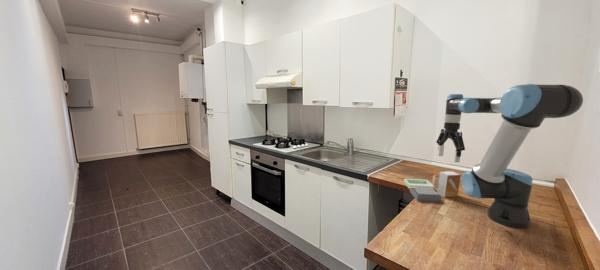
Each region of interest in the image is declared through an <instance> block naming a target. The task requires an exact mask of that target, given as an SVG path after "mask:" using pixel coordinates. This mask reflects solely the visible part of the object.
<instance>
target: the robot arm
mask: <svg viewBox="0 0 600 270" xmlns="http://www.w3.org/2000/svg"><path fill="white" fill-rule="evenodd" d="M445 103H446V104H445V114H444V123H443V128H441V129H440V133H439V136H438V138H437V139H436V141H435V142H436V144H437V145H438V149H437V150H438V151H437V156H438V157H444V151H445V150H444V149H445V143H446V142H447V141H448V140H451V141H452V143H453V145H454V148H455V150H454V158H453V162H454V163H460V161H461V156H462V151H466V147H465V143H464V139H463V132H462V131H458V130H460V128H461V126H460V125H461V117H462V113H464V114H501V116H500V117H501V118H502V120H503V121H502V123H501V125H500V126H499V128H498V130H497V132H496V133H495V135H494V137H493V139H492V141H491V143H490V145H489V147H488V148H487V149H486V152H485V154H484V156H483V158H482V159H481V162H480V163H477V164H475V165H474V166H473V167H472V170H470V171H469V170H468V171H465V172H463V173H462V174H461V178H460V182H461V187H462V189H463V191H464V193H465V195H467V196H468V197H470V198H473V199H474V198H475V199H493V202H492V203H491V204H490V205H489V207H488V209H487V213H486V214H487V215H486V216H488V217H489V218H490V219H491V220H493V222H496V223H498V224H502V225H504V226H508V227H512V228H518V229H525V228H526V229H527V228H528V227H530V226H531V218H530V214H529V210H528V208H529V202H530V196H531V192H532V188H533V177H532V176H531V175H530V174H527V173H525V172H522V171H519V170H514V169H510V168H508V166H509V165H510V163H511V162H512V161H513V159H514V157H515V155H516V154H517V152H518V151H519V149H520V147H521V146H522V145H523V143H524V141H525V140H526V139H527V136H528V135H529V133H530V132H531V130H532V129H537V128H539V127H541V124H542V123H543V122H544V120H545V119H559V118H560V119H561V118H565V117H566V118H567V117H569V116H572V115H573V114H575V113H577V112H578V111H579V110H580V109H581V108H582V105H583V103H584V97H583V94H582V93H581V92H580V91H579V89H577V88H576V87H573V86H571V85H566V84H534V83H527V84H518V85H514V86H512V87H510V88H508V89H507V90H506V91H505V92H504V93H503V94H502V96H501V97H500V96H499V97H483V98H482V97H464V94H461V93H459V94H458V93H455V94H454V93H449V94H447V98H446V100H445Z"/></svg>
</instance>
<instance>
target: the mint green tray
mask: <svg viewBox="0 0 600 270" xmlns="http://www.w3.org/2000/svg"><path fill="white" fill-rule="evenodd" d="M403 184H404V185H405V184H406V185H405V186H406V187H407V188H408V190H410V187H413V186H425V187H432V188H433V189H434V190H435V187H434V186H433V185H432V183H431V182H430V181H429V180H428V179H420V178H419V179H418V178H417V179H416V178H415V179H414V178H404V179H403Z"/></svg>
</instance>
